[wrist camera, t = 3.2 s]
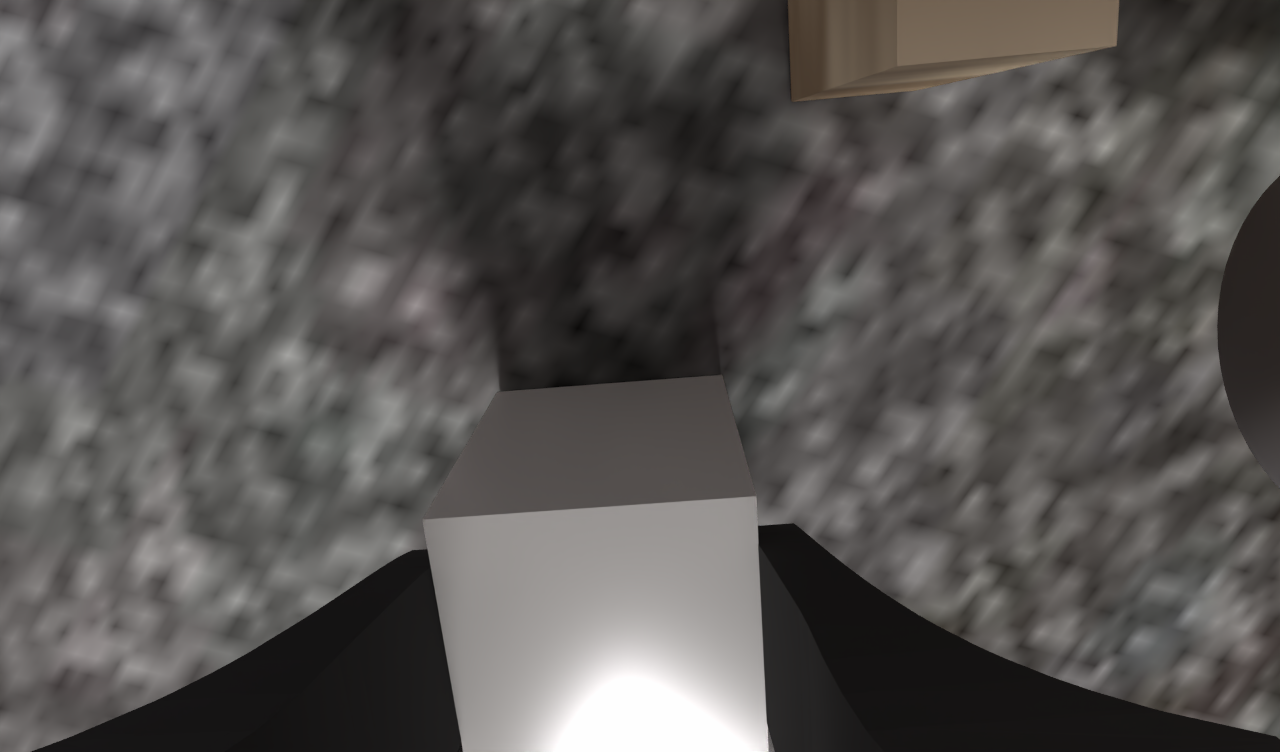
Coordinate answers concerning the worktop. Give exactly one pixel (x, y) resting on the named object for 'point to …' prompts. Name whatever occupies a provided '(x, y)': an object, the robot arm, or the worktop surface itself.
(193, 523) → the worktop surface
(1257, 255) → the trapdoor
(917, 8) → the trapdoor posts
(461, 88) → the worktop surface
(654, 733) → the grey rectangular block
